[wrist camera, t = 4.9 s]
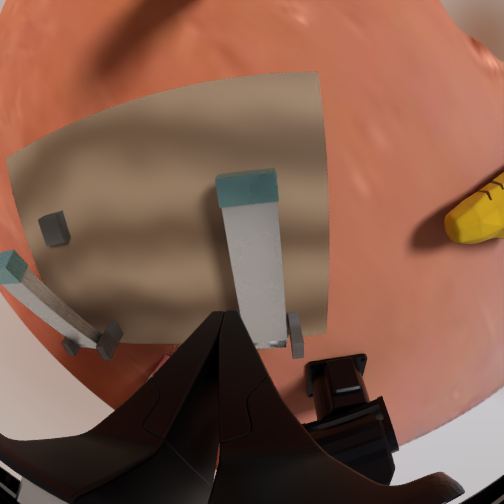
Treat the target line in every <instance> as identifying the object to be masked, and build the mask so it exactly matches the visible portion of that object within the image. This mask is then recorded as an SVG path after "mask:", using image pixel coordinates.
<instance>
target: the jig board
mask: <svg viewBox="0 0 504 504" xmlns="http://www.w3.org/2000/svg"><path fill="white" fill-rule="evenodd" d="M6 162H7V168H8V173H9V178H10V182H11V187H12V191H13V195H14V199H15V203H16V207H17V210H18V214H19V217H20V221H21V224H22V227H23V230H24V233H25V236H26V239H27V242H28V245H29V247H30V250H31V253H32V255H33V258H34V260H35V263H36V265H37V268H38V270H39V273H40V275H41V277H42V280H43V282H44V284H45V285H46V286H47V287H48V288H49V289H50V290H51V291H52V292H53V293H54V294H55V295H56V296H57V297H58V298H59V299H61V300H62V301H63V302H64V303H65V304H66V305H67V306H68V307H70V308H71V309H72V310H73V311H74V312H75V313H77V314H78V315H79V316H80V317H81V318H83V319H84V320H85V321H86V322H87V323H89V324H90V325H91V326H92V327H94V328H95V329H96V330H98V331H99V332H100V333H101V334H102V336H101V338H100V339H99V341H98V343H97V345H96V346H95V347H96V349H97V350H98V352H99V354H100V355H101V357H102V358H103V360H111V358H112V356H113V354H114V352H115V350H116V348H117V346H118V344H119V343H136V344H182V343H183V342H184V341H185V340H186V339H187V338H188V337H189V336H190V335H191V334H192V333H193V332H194V330H195V329H196V328H197V327H198V326H199V325H200V324H201V323H202V322H203V321H204V320H205V319H206V318H207V316H208V315H209V314H210V313H211V312H213V311H227V310H238V311H239V313H240V309H239V304H238V299H237V293H236V288H235V282H234V277H233V271H232V266H231V260H230V254H229V249H228V243H227V237H226V231H225V225H224V219H223V213H222V208H219V202H218V196H217V190H216V184H215V178H216V177H217V176H218V174H225V173H232V172H240V171H249V170H258V169H267V168H275V170H276V175H277V185H278V196H279V201H278V202H277V206H278V217H279V229H280V241H281V253H282V266H283V280H284V294H285V310H286V327H287V338H290V341H291V348H292V356H293V359H296V358H304V341H303V336H310V335H318V334H326V328H327V311H328V288H329V195H328V172H327V155H326V142H325V129H324V119H323V109H322V100H321V91H320V83H319V76H318V72H287V73H271V74H260V75H250V76H241V77H234V78H227V79H220V80H214V81H209V82H203V83H198V84H193V85H188V86H184V87H179V88H175V89H171V90H167V91H163V92H159V93H155V94H152V95H148V96H145V97H141V98H138V99H135V100H132V101H129V102H126V103H123V104H120V105H117V106H114V107H111V108H108V109H106V110H103V111H100V112H98V113H95V114H93V115H90V116H88V117H85V118H83V119H80V120H78V121H76V122H73V123H71V124H69V125H67V126H65V127H62V128H60V129H58V130H56V131H54V132H52V133H50V134H48V135H46V136H44V137H42V138H40V139H38V140H37V141H35V142H33V143H31V144H29V145H28V146H26V147H24V148H22V149H21V150H19V151H17V152H16V153H14V154H12V155H11V156H9V157H7V158H6ZM240 316H241V315H240ZM62 345H63V346H64V348H65V349H66V351H67V353H68V354H69V355H71V356H75V355H76V354H77V352H78V350H79V349H80V347H79V346H78V345H77V344H76V343H74V342H73V341H71V340H70V339H68V338H67V337H65V339H64V340H63V342H62Z"/></svg>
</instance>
